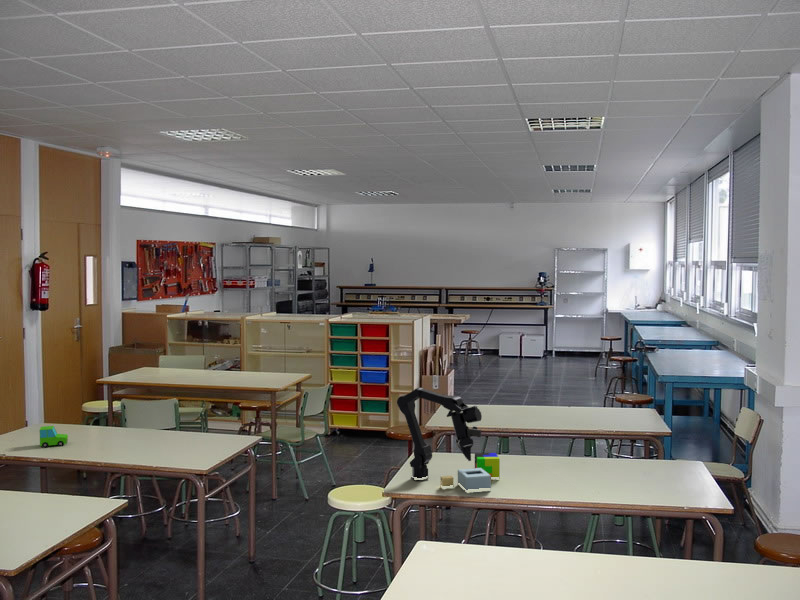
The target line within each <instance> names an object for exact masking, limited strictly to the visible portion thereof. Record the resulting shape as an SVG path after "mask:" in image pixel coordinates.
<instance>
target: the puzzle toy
mask: <svg viewBox="0 0 800 600" xmlns="http://www.w3.org/2000/svg"><path fill="white" fill-rule="evenodd" d="M500 462H501V460H500V457H499V455H498V454H497V453H496V452H475V453H474V468H482V469H483V470H484V471H486V472H487V473H488V474H489V475H491V477H499V478H500V472H501V471H500V466H501V464H500Z"/></svg>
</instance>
